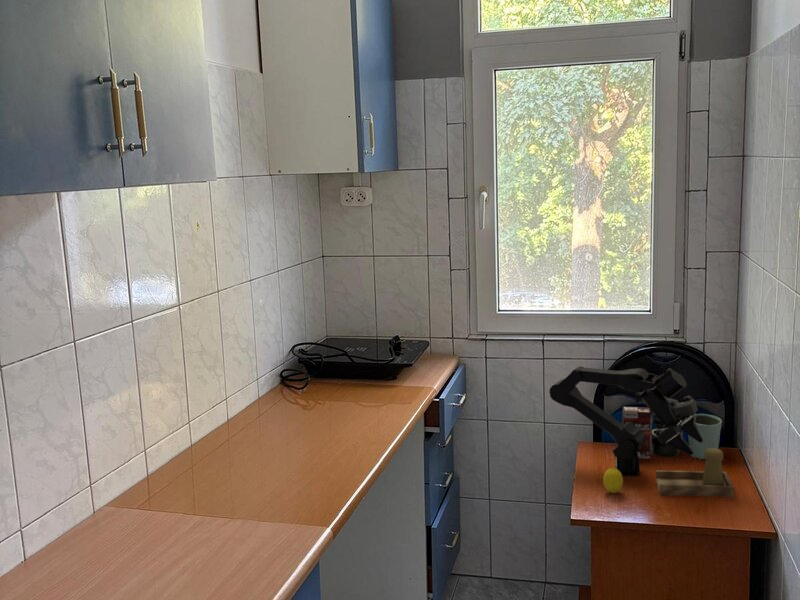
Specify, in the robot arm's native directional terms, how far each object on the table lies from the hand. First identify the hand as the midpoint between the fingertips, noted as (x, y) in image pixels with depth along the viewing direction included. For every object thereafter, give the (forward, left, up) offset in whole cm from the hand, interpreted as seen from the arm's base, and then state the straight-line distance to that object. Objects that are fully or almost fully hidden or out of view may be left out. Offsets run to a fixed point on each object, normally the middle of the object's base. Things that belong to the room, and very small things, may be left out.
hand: (697, 447), depth 231 cm
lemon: (-24, -7, -12) cm, 28 cm away
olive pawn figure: (+4, -2, -11) cm, 12 cm away
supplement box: (-15, +21, -12) cm, 29 cm away
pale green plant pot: (+6, +23, -12) cm, 27 cm away
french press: (-6, +26, -12) cm, 29 cm away
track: (-1, -2, -12) cm, 12 cm away
